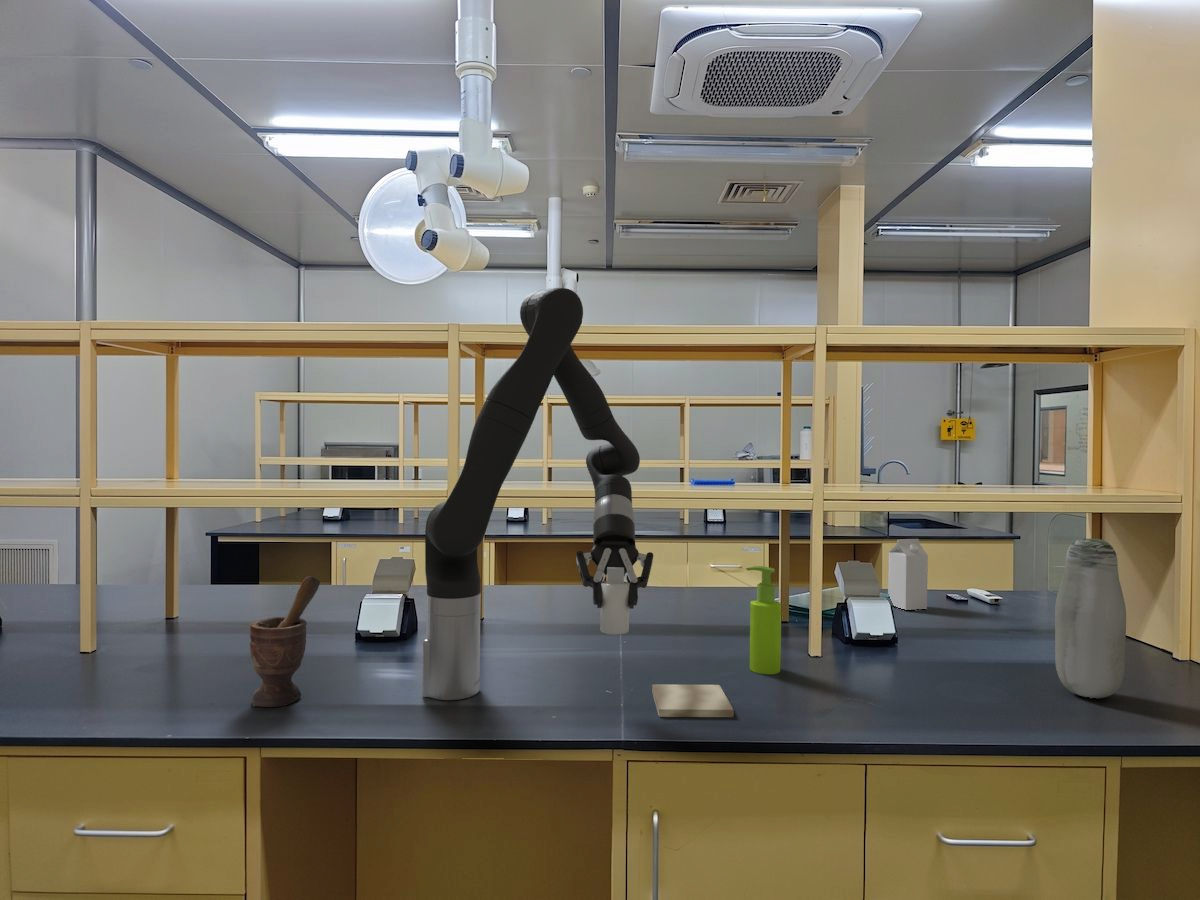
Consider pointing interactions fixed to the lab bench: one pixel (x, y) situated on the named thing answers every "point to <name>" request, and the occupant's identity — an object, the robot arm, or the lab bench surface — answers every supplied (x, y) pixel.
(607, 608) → the white bottle
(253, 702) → the mortar and pestle
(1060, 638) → the grey bottle
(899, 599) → the milk carton
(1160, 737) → the lab bench surface
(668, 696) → the board
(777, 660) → the soap dispenser
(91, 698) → the lab bench surface
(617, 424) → the robot arm
